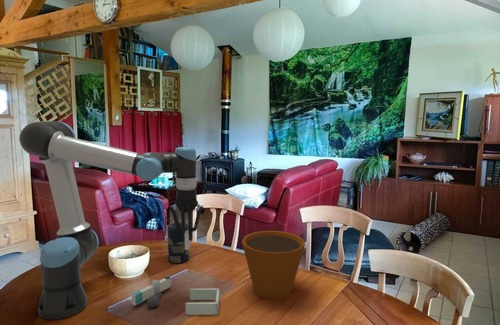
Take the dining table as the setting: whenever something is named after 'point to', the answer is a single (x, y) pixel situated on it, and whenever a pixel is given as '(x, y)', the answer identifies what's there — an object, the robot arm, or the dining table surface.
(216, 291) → the box
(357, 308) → the dining table surface
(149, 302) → the ball
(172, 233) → the canister
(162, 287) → the teal-tipped knobbed bar
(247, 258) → the flower pot
